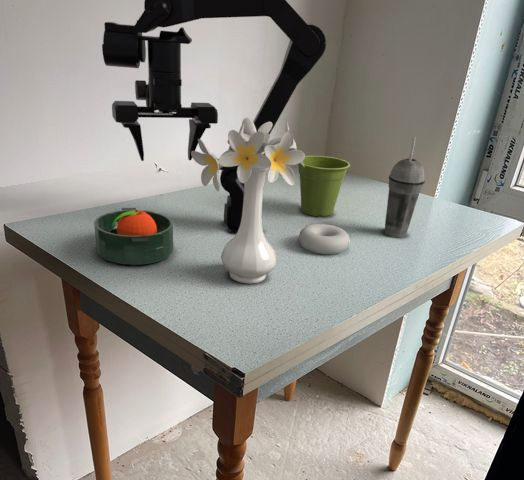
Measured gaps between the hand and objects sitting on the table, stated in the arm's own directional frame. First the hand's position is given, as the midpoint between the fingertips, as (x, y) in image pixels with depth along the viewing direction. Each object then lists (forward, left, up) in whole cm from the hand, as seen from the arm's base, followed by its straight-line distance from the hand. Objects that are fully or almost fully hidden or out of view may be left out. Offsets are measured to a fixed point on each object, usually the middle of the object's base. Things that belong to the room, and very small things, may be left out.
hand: (166, 160), depth 108 cm
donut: (-28, +17, -13) cm, 35 cm away
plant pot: (-35, -3, -13) cm, 37 cm away
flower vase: (-9, +28, -13) cm, 32 cm away
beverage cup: (-47, +12, -13) cm, 50 cm away
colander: (+8, +15, -12) cm, 21 cm away
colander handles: (+8, +15, -8) cm, 18 cm away
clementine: (+8, +14, -12) cm, 21 cm away
